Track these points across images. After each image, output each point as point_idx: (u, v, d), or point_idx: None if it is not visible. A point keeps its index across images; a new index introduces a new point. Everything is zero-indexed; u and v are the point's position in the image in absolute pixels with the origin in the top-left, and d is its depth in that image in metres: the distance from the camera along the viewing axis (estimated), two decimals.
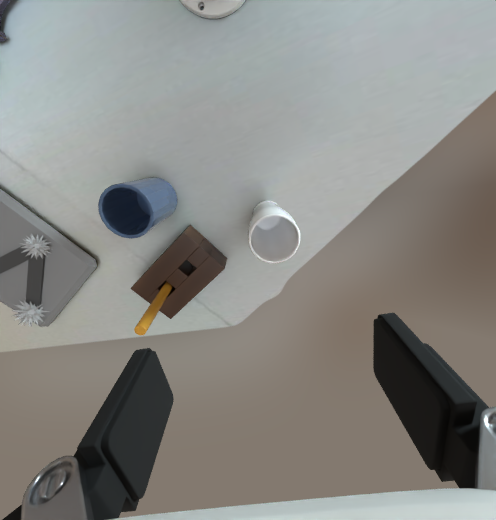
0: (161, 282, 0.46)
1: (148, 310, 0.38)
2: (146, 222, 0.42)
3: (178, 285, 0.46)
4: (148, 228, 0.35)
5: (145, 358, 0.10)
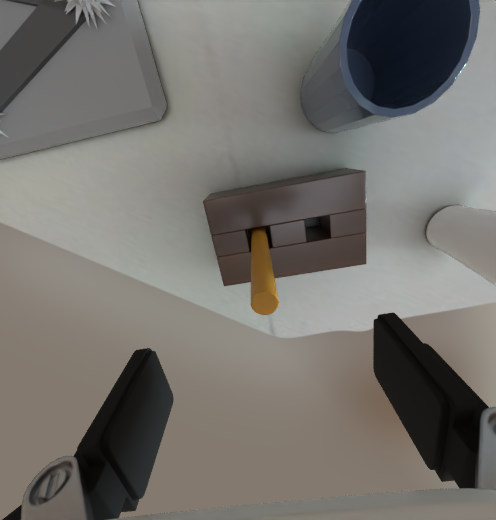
0: (260, 224, 0.25)
1: (266, 265, 0.18)
2: None
3: (281, 245, 0.26)
4: (409, 111, 0.15)
5: (145, 358, 0.10)
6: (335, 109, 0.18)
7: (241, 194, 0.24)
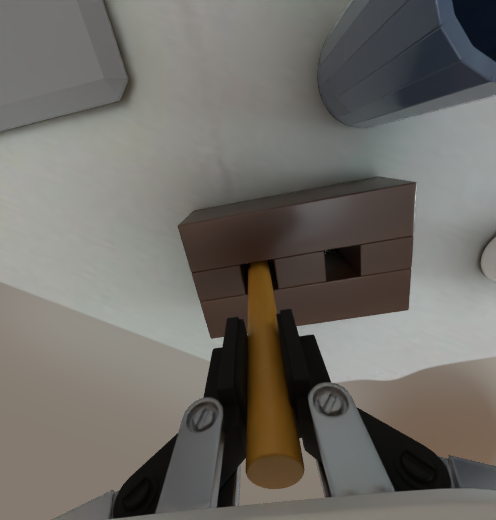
0: (261, 257, 0.17)
1: (274, 351, 0.10)
2: None
3: (290, 286, 0.18)
4: None
5: (239, 324, 0.11)
6: (388, 82, 0.11)
7: (233, 216, 0.16)
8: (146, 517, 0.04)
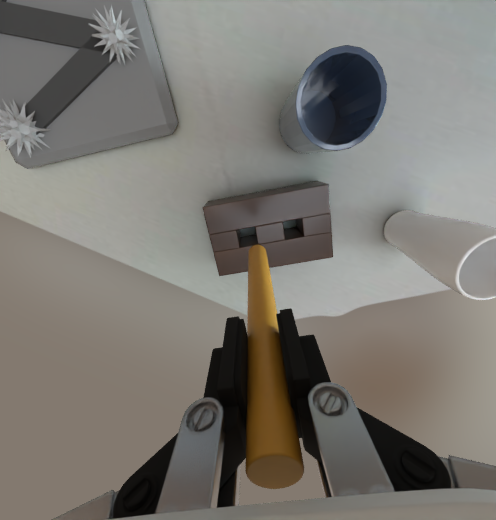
0: (248, 225, 0.31)
1: (274, 351, 0.10)
2: None
3: (265, 242, 0.32)
4: (346, 146, 0.22)
5: (239, 324, 0.11)
6: (300, 141, 0.25)
7: (232, 202, 0.30)
8: (146, 517, 0.04)
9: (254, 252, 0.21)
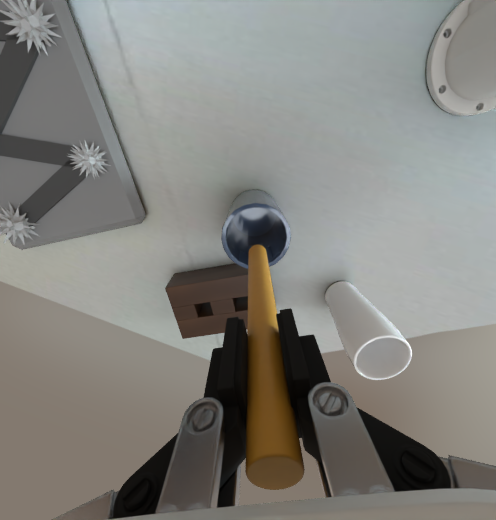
0: (204, 301, 0.38)
1: (274, 351, 0.10)
2: (238, 238, 0.34)
3: (219, 313, 0.39)
4: None
5: (239, 324, 0.11)
6: None
7: (189, 284, 0.37)
8: (146, 517, 0.04)
9: (254, 252, 0.21)
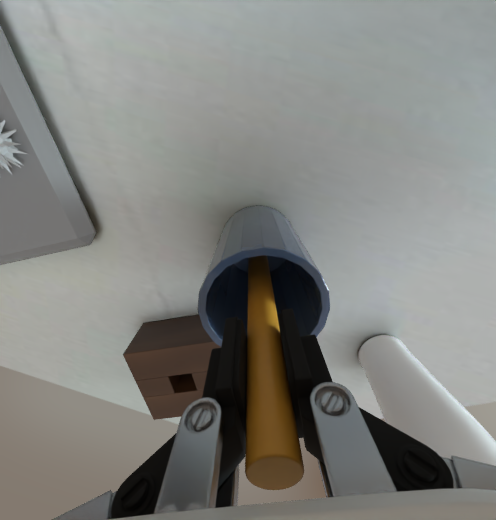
0: (182, 372, 0.25)
1: (274, 351, 0.10)
2: (232, 284, 0.22)
3: None
4: None
5: (238, 324, 0.11)
6: None
7: (160, 349, 0.24)
8: (146, 517, 0.04)
9: None
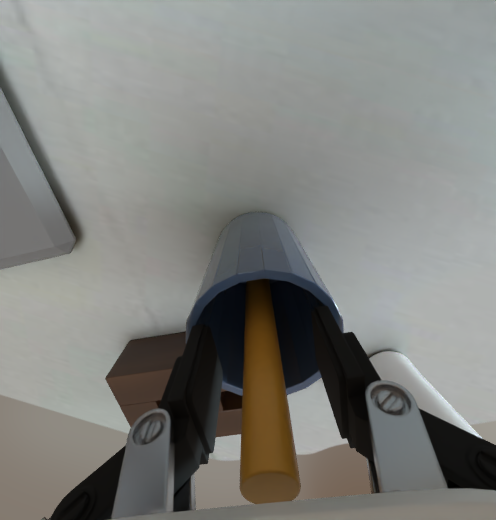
0: None
1: (271, 359, 0.10)
2: (229, 301, 0.19)
3: None
4: None
5: (204, 332, 0.11)
6: None
7: (146, 372, 0.22)
8: (146, 517, 0.04)
9: None
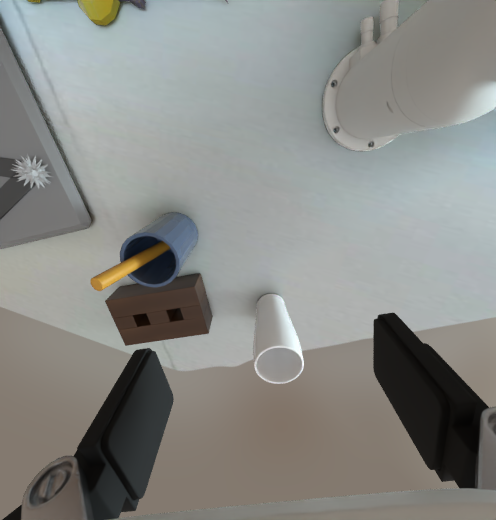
0: (140, 312, 0.42)
1: (124, 264, 0.30)
2: None
3: (155, 323, 0.43)
4: (161, 285, 0.32)
5: (145, 358, 0.10)
6: None
7: (126, 297, 0.41)
8: (146, 517, 0.04)
9: None
